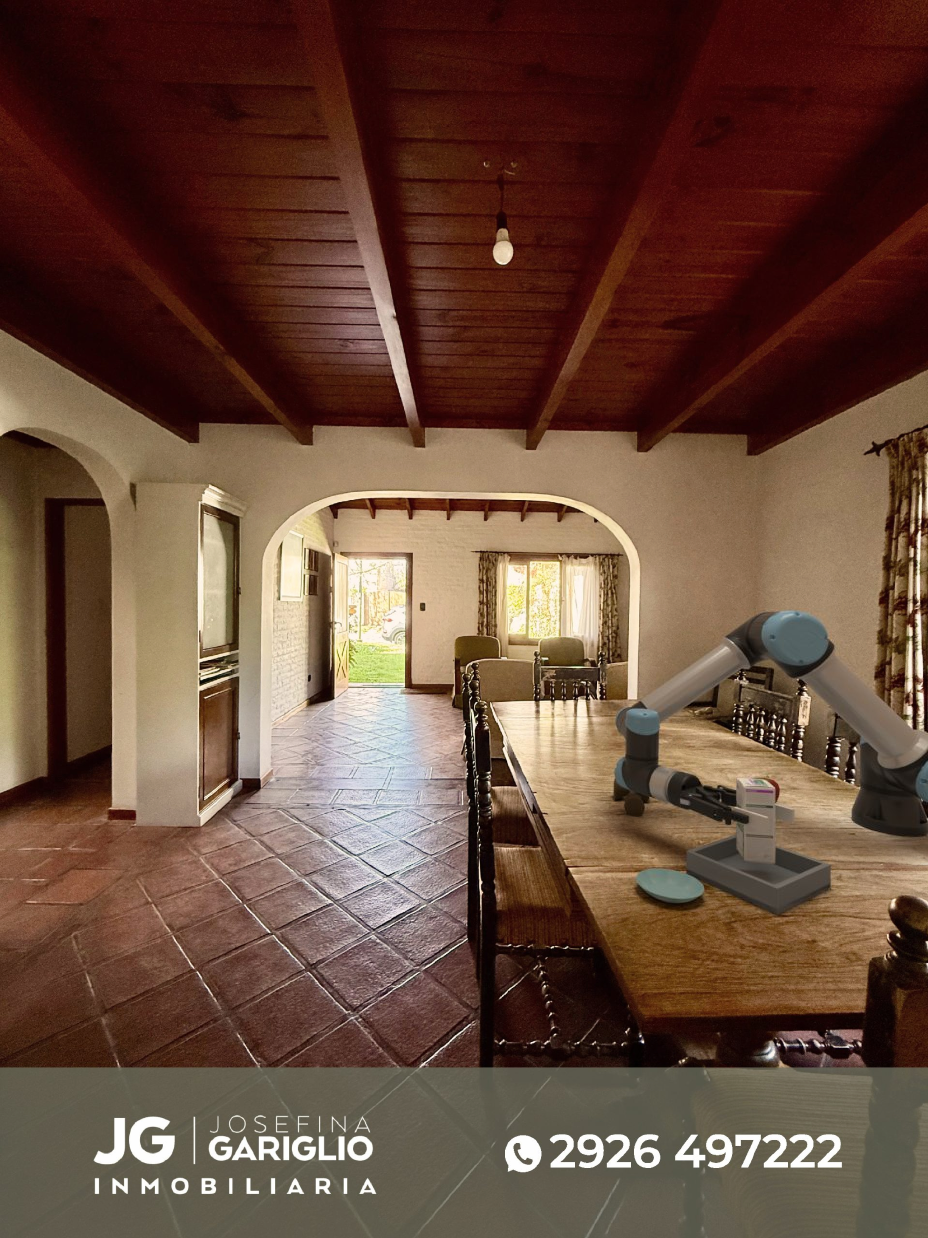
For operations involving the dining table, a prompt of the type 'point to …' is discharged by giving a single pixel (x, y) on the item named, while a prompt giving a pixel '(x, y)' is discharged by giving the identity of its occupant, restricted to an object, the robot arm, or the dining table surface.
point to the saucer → (669, 885)
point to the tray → (760, 875)
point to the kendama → (630, 800)
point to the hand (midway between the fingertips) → (780, 820)
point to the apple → (774, 784)
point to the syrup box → (761, 801)
